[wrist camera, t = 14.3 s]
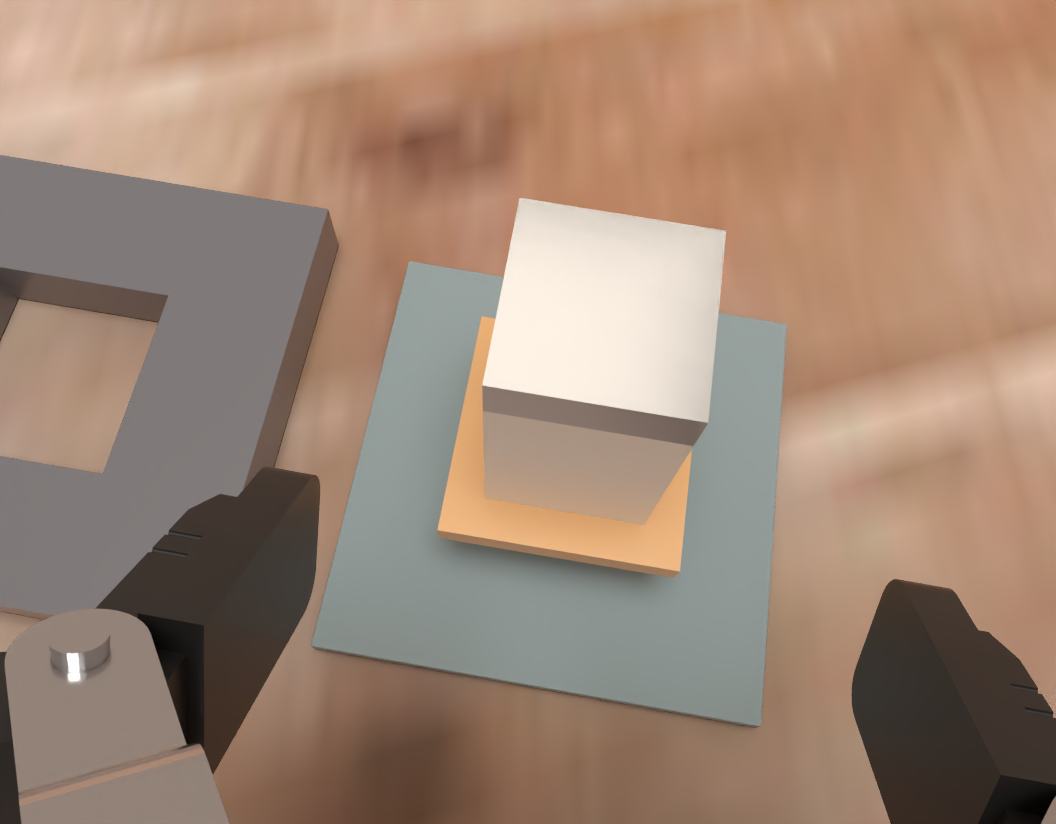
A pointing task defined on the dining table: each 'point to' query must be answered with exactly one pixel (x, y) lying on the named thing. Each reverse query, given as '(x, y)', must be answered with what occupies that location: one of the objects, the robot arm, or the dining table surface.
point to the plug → (589, 390)
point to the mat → (546, 582)
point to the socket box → (153, 360)
